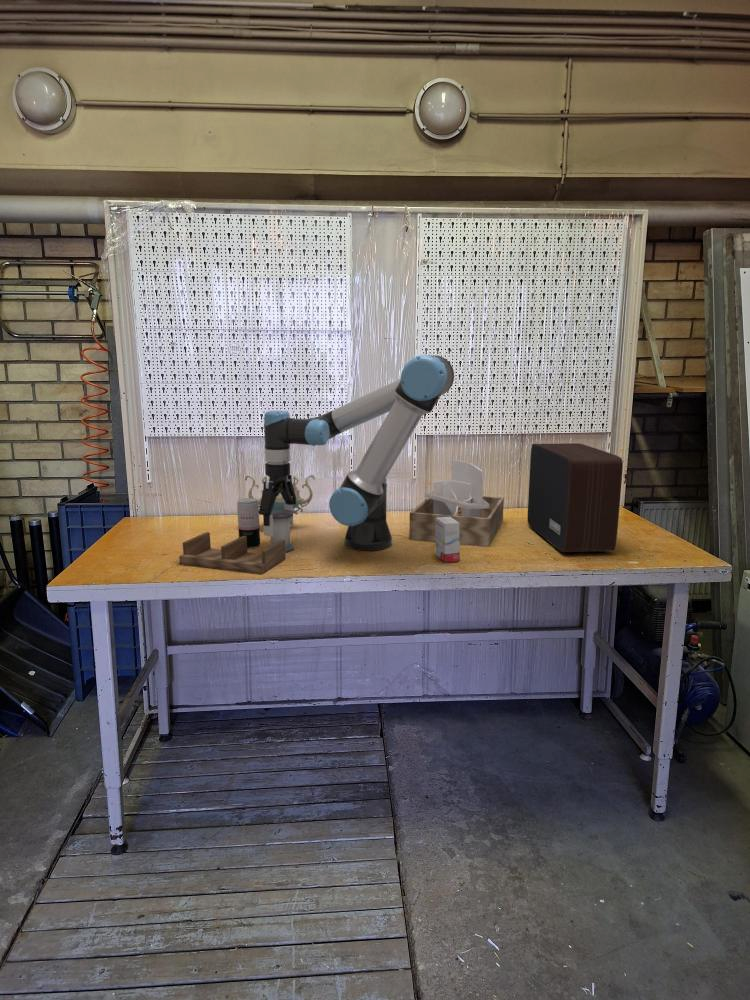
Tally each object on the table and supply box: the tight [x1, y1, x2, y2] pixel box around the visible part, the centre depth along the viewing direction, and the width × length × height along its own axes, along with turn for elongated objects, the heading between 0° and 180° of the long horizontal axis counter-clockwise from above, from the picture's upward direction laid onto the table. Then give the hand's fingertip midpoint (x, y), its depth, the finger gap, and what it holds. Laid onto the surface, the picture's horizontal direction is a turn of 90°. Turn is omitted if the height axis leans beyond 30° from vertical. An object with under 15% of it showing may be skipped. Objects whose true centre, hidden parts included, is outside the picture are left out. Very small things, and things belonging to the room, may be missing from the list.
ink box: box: [435, 517, 461, 563], centre depth 184 cm, size 9×5×12 cm, turn 13°
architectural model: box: [424, 459, 489, 518], centre depth 213 cm, size 28×21×23 cm
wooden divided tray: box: [178, 531, 287, 575], centre depth 182 cm, size 27×14×6 cm, turn 71°
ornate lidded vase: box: [244, 474, 316, 515], centre depth 215 cm, size 24×12×30 cm, turn 91°
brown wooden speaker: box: [527, 442, 624, 553], centre depth 201 cm, size 36×18×30 cm, turn 4°
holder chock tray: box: [408, 495, 505, 548], centre depth 215 cm, size 26×33×9 cm
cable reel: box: [266, 510, 295, 554], centre depth 193 cm, size 8×8×12 cm
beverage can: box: [236, 497, 261, 550], centre depth 196 cm, size 7×6×15 cm
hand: (278, 530), depth 193 cm, fingers open, 13 cm apart
